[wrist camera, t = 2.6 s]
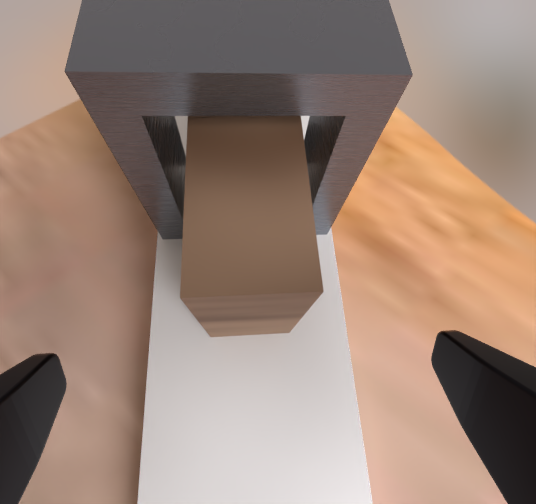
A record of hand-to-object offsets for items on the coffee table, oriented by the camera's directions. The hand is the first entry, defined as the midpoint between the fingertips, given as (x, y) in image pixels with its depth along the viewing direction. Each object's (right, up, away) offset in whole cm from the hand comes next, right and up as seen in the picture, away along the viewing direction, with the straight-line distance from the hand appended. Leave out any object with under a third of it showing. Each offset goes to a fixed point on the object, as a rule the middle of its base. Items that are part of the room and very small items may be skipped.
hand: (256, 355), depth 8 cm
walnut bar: (-1, +3, +11) cm, 11 cm away
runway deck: (-1, 0, +12) cm, 12 cm away
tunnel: (-1, +5, +12) cm, 13 cm away
